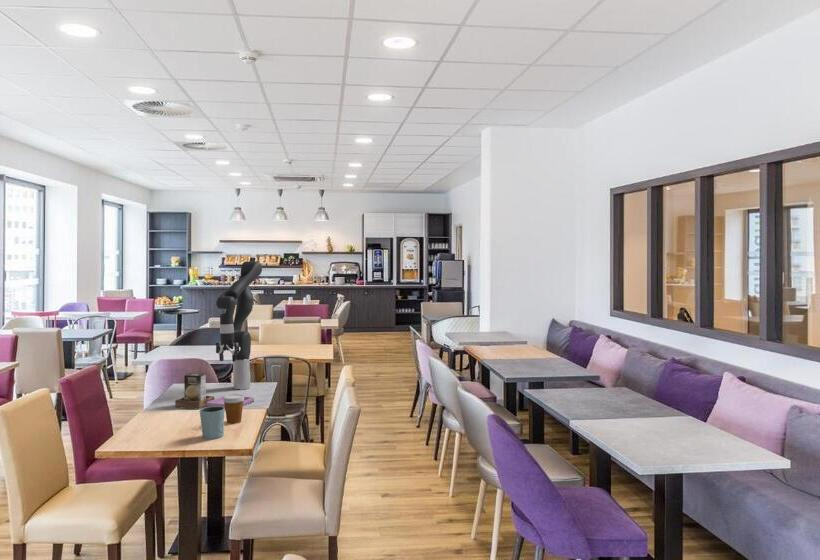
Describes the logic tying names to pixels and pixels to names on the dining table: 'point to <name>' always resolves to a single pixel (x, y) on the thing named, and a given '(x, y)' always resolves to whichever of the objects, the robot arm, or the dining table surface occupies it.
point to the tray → (221, 403)
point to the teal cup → (212, 422)
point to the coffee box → (194, 387)
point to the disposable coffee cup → (233, 408)
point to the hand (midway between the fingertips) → (227, 361)
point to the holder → (193, 403)
